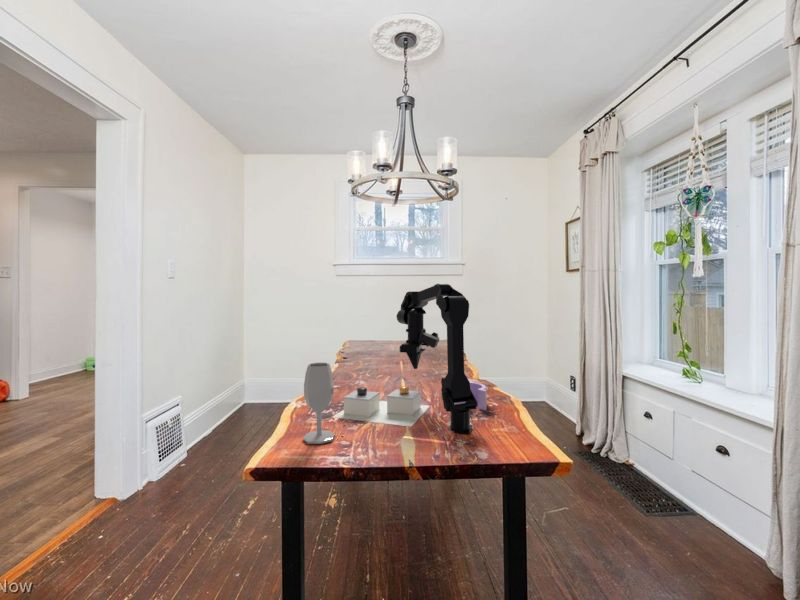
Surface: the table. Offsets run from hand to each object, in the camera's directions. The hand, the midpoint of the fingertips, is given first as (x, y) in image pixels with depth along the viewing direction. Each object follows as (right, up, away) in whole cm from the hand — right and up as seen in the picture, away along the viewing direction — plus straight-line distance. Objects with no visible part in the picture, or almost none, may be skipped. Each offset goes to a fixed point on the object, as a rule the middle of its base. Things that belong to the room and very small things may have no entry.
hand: (415, 368), depth 139 cm
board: (-11, -13, -9) cm, 20 cm away
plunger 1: (-19, -13, -10) cm, 25 cm away
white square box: (-4, -13, -9) cm, 16 cm away
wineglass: (-28, -14, -32) cm, 45 cm away
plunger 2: (-4, -13, -9) cm, 16 cm away
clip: (+19, -13, +3) cm, 23 cm away
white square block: (-19, -13, -10) cm, 25 cm away
